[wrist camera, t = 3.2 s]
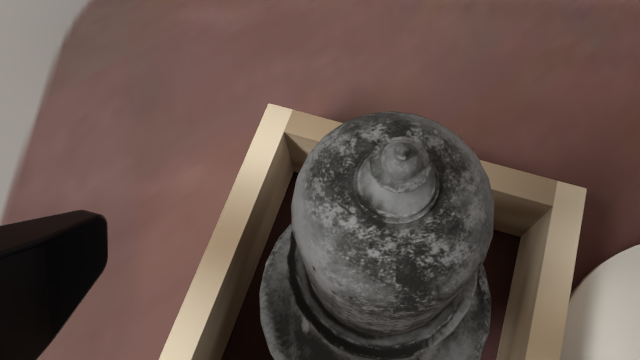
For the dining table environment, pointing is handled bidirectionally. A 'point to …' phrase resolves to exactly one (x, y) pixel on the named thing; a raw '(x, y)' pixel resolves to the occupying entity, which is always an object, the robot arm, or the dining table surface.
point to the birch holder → (264, 203)
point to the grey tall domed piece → (383, 248)
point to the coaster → (606, 312)
